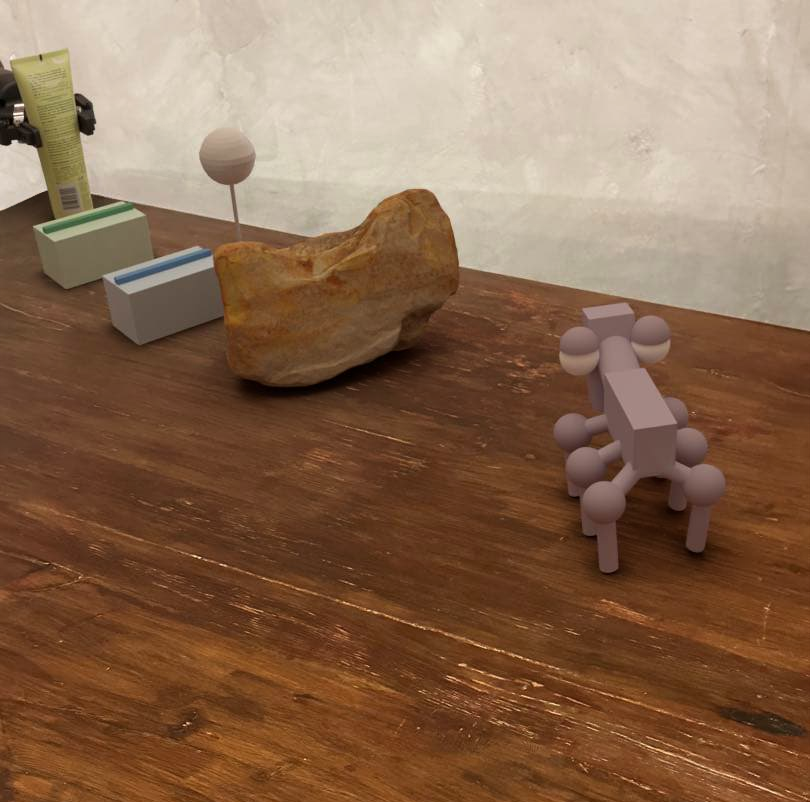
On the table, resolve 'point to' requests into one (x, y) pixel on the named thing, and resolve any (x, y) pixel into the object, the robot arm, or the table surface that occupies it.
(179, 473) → the table surface
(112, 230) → the pale green box
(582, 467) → the mauve legged toy figure
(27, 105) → the tube
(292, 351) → the orange sandstone rock
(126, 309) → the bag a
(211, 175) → the lollipop
